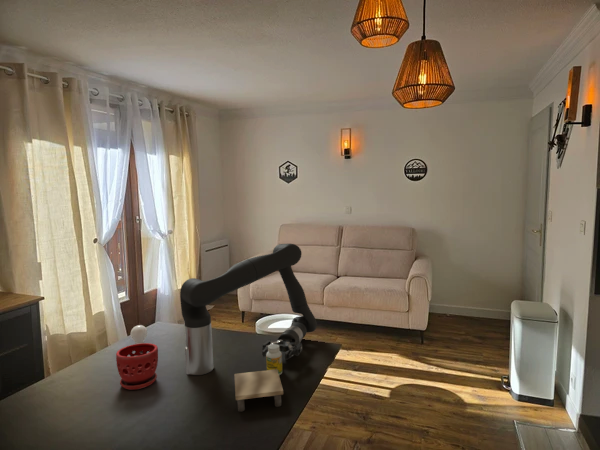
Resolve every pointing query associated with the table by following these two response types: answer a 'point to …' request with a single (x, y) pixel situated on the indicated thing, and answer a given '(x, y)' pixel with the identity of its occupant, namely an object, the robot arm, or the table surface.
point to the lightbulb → (139, 334)
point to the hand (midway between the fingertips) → (274, 355)
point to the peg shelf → (257, 386)
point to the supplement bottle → (274, 358)
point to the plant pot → (137, 365)
